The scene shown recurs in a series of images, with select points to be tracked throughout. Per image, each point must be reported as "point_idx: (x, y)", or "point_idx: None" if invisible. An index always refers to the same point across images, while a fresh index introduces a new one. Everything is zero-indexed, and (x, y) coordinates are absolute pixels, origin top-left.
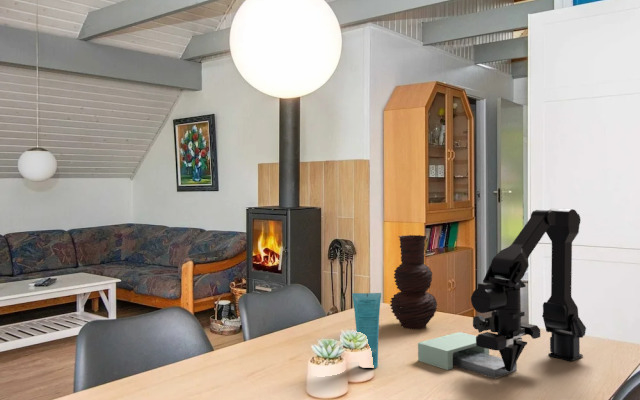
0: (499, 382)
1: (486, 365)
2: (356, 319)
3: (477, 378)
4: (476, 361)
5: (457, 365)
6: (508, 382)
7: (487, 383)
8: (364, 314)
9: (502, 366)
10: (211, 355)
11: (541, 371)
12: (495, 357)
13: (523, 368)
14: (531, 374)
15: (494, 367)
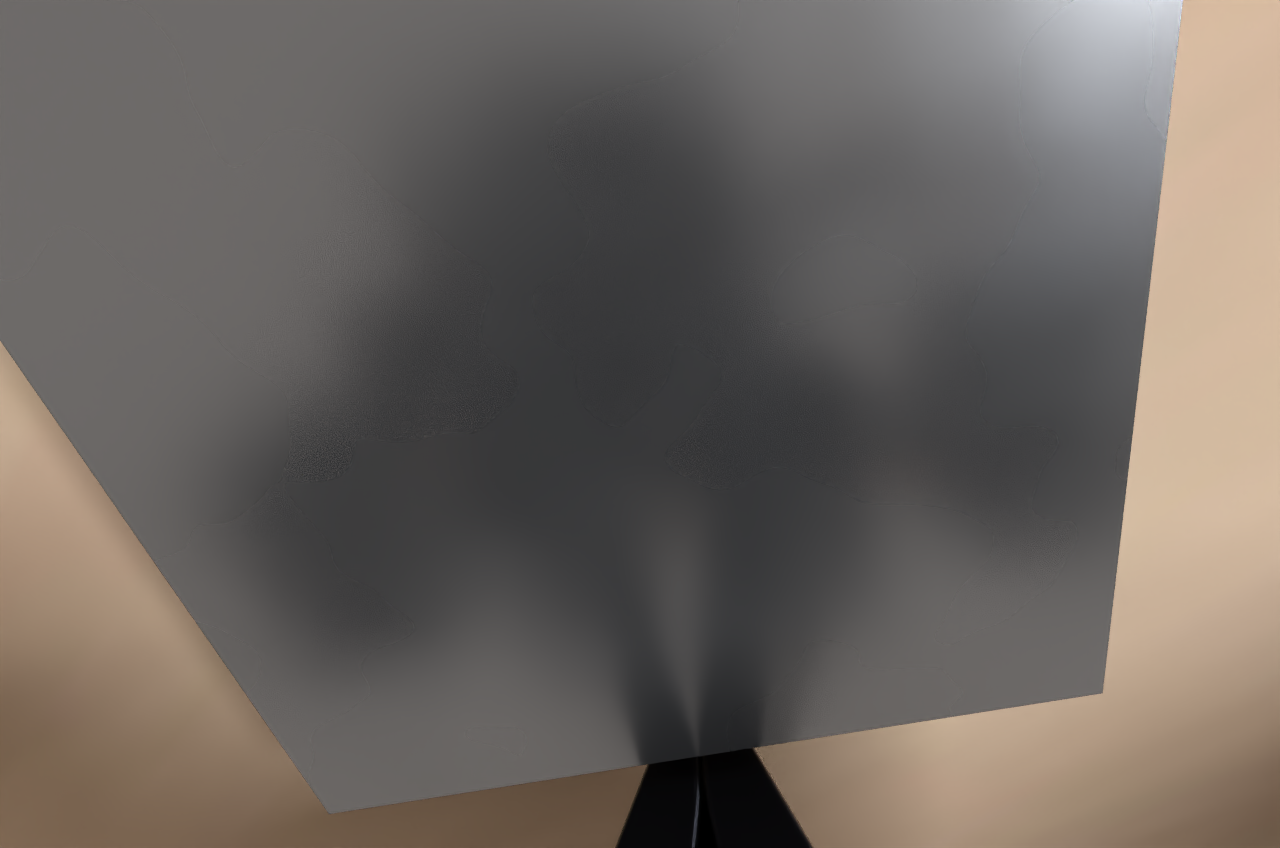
0: None
1: (294, 597)
2: None
3: (90, 570)
4: (172, 227)
5: None
6: (472, 824)
7: (161, 757)
8: None
9: (599, 754)
10: None
11: (1261, 735)
12: (1047, 180)
13: (1212, 543)
14: (1013, 757)
15: (396, 740)
